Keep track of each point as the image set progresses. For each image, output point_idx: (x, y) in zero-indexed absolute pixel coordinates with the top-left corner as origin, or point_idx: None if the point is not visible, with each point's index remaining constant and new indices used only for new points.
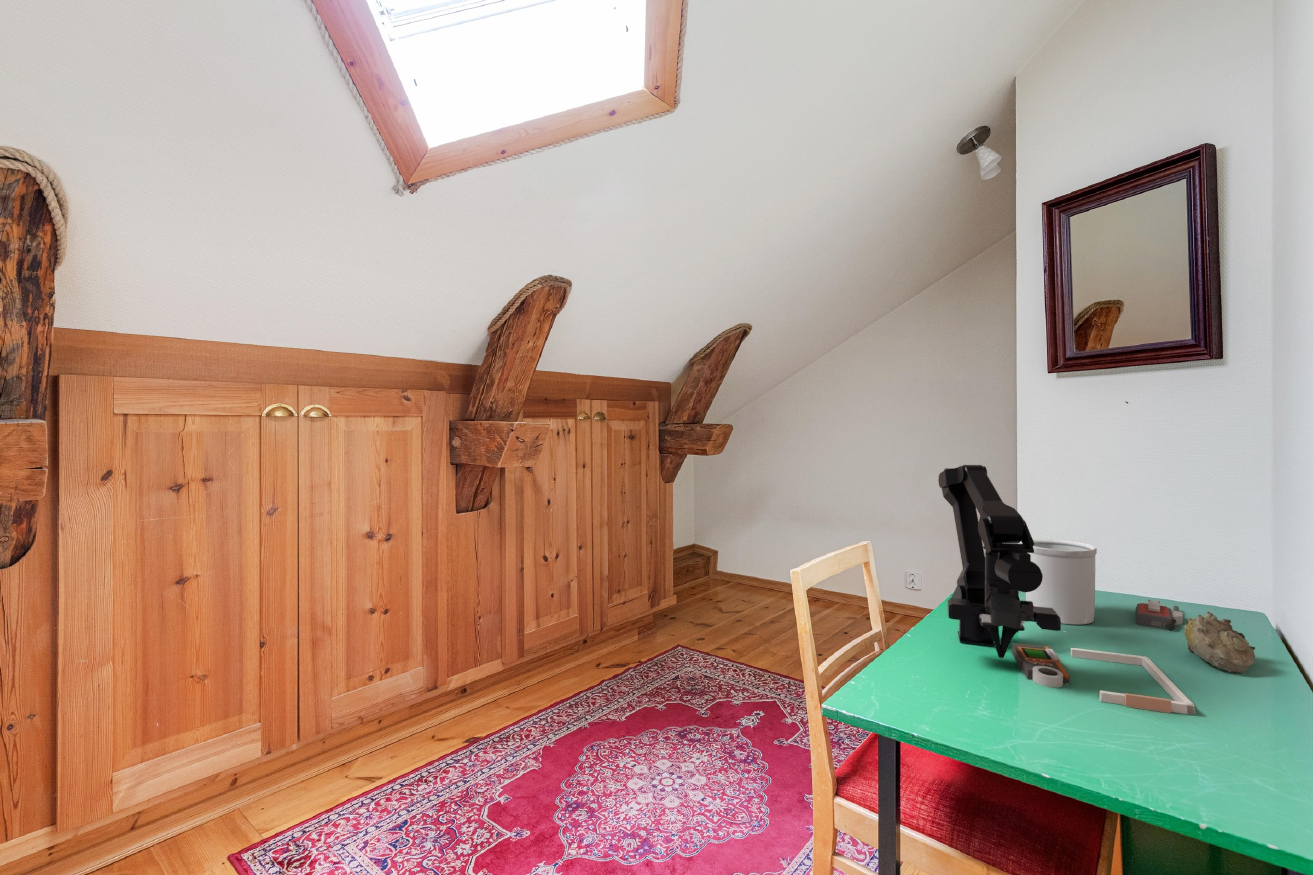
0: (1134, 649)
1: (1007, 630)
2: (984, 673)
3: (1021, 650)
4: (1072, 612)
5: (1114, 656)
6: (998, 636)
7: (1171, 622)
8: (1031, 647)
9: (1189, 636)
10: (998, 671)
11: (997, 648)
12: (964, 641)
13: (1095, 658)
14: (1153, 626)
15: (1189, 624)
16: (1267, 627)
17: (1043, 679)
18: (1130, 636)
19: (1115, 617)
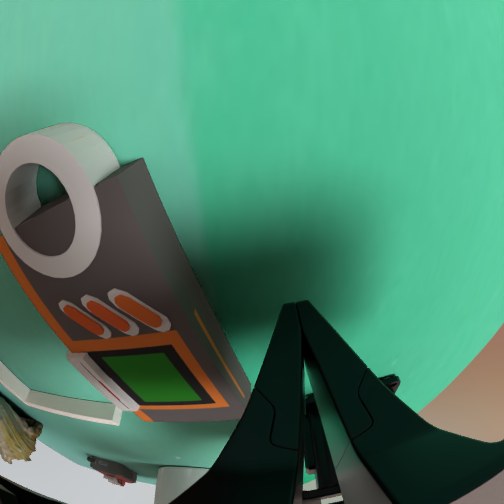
0: (76, 428)
1: (282, 501)
2: (375, 114)
3: (208, 387)
4: (175, 483)
5: (53, 405)
6: (349, 415)
7: (91, 463)
8: (183, 411)
9: (7, 434)
10: (302, 186)
11: (328, 335)
12: (388, 381)
13: (79, 401)
14: (106, 460)
15: (15, 451)
16: (57, 451)
17: (49, 130)
18: (105, 450)
19: (146, 471)
